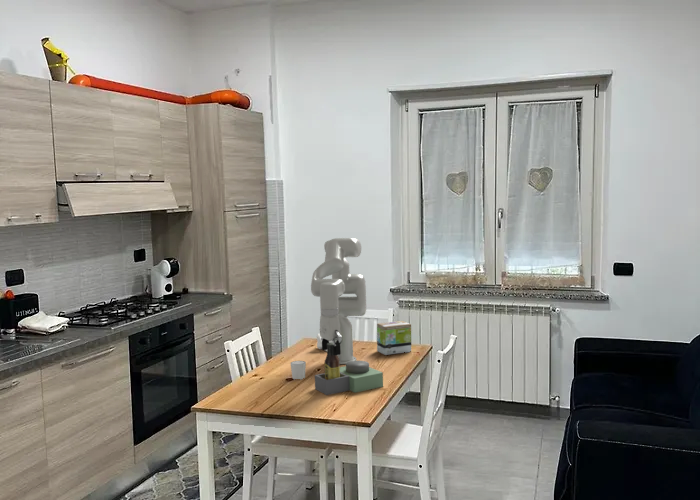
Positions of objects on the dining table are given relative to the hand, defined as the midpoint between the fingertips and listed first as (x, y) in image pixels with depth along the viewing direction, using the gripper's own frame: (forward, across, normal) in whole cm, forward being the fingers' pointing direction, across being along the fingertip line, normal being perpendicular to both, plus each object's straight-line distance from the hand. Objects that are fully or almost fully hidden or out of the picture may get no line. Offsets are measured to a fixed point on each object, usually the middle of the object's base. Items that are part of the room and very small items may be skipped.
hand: (331, 352), depth 268 cm
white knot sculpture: (+18, -60, +30) cm, 70 cm away
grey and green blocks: (+16, +1, +6) cm, 17 cm away
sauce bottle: (+16, +1, 0) cm, 16 cm away
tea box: (+18, -35, +56) cm, 68 cm away
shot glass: (+16, -23, -4) cm, 29 cm away
